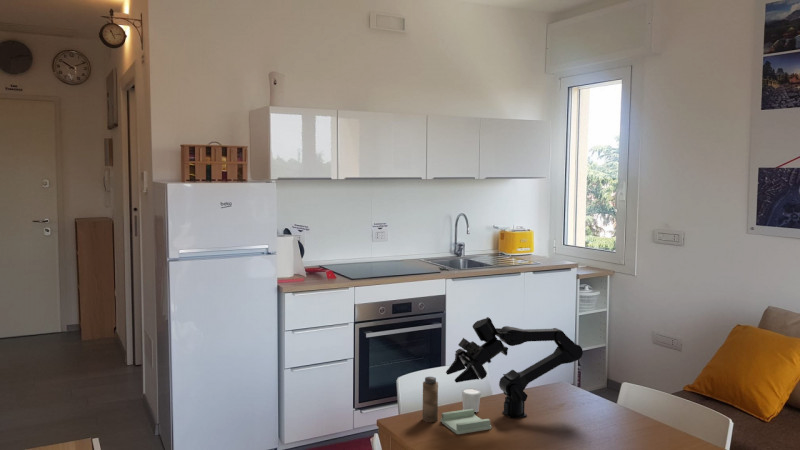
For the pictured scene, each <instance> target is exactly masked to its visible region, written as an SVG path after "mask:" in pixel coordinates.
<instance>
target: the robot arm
mask: <svg viewBox="0 0 800 450" xmlns="http://www.w3.org/2000/svg"><path fill="white" fill-rule="evenodd" d="M472 328H473V330H474V332H475V334H476V335H477V337H478V339H479V340H480V342H484V343H482V344H481V345H479V344H477V343H476V342H475V341H473V340H472V341H469V340H467V339H466V338H464V337H462V339H461V341H460V342H459V343H458V347H460V348H458V349H457V350H455V351H454V352H455V353H454V357H455V358H454V360H453V362H452V363H451V365H449V367H448V368H447V370H446V371H445V374H446V375H451V374H455V373H458V372H460V371H462V372H461V373H460V374H459V375H458V376H456V377H455V378H454V383H457V384H458V383H461V382H463V383H464V382H468V381H475V380H484V379H485V378H486V377H487V374H488V373H487V371H486V368H484V365H485V364H486V363H488V364H490V363H492V359H493V358H495V357H496V356H498V355H499V354H500V353H501V354H502V355H504V356H505V357H506V356H508V350H509V347H514V346H519V345H522V344H524V343H528V342H550V341H551V342H552V341H553V342H554V343H555V344H556V348H555V350H554V351H553V353H550V354H549V355H547V356H545V357H544V358H542V359H540V360H538V361H537V362H535V363H534V364H532V365H530V366H528V367H526V368H525V369H523V370H522V371H518V372H517V371H516V370H514V369H511V370H509V371H508V372H506V373H504V374H503V376H502V377H500V379H499V381H498V386H499V389H500V390H501V391H502V392H503V395H505V397H504V401H503V410H502V411H501V413H502V414H503V415H505V416H506V417H508V418H510V419H517V418H518V419H519V418H525V417H528V414H527V413H525V402H526V401H527V399H528V394H527V393H526V392H525V390H526V387H528V385H529V384H531V382H533V381H535V380H537V379H538V378H540V377H542V376H543V375H545V374H547V373H549V372H551V371H552V370H554V369H556V368H557V367H559V366H561V365H564V364H566V365H567V364H571V363H573V362H577V361H579V360H580V359H582V357H583V352H584V350H583V347H582V346H581V345H580V344H577V343H575V341H573V340H572V339H571V338H569V337H568V335H567V334H566V333H565V332H564V331H563V330H561V329H560V328H557V327H554V328H536V329H534V328H532V329H531V328H529V329H528V328H527V329H523V328H520V327H514V326H509V325H508V326H507V325H505V326H503V327H501V328H497V327H496V326H495V325H494V324H493V321H492V319H491V317H488V316H487V317H485V318H482V319H480V320H477V321H476V322H474V323H473V325H472ZM497 337H498V338H499V339H498V338H497ZM505 344H506V345H508V346H509V347H507V346H505Z"/></svg>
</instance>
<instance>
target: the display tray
mask: <svg viewBox="0 0 800 450" xmlns="http://www.w3.org/2000/svg"><path fill="white" fill-rule="evenodd" d="M440 421H441V422H442V423H441V422H440ZM440 421H439V422H440V423H441V424H443V425H444V426H445V427H447V428H448V429H449V430H451V432H453V433H454V434H456V435H463V434H469V433H475V432H480V431H487V430H492V427H493V426H492V425H491V419H489V418H484V419H482V418H480V416H479V417H478V416H477V415H476V414H475V413H474V409H465V410H463V409H460V410H454V411H447V412H446V411H445V412H441V418H440Z"/></svg>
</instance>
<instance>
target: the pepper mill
mask: <svg viewBox="0 0 800 450" xmlns="http://www.w3.org/2000/svg"><path fill="white" fill-rule="evenodd" d="M438 401H439V382H438V381H437V378H436V377H434V376H426V377H425V378H424V381H423V382H422V421H423V422H424V421H425V423H428V422H433V423H436V422H438V411H439V410H438V408H439V407H438V406H439V403H438ZM435 421H436V422H435Z"/></svg>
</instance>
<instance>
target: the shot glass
mask: <svg viewBox="0 0 800 450" xmlns="http://www.w3.org/2000/svg"><path fill="white" fill-rule="evenodd" d="M481 393H482V392H481V390H479V389H476V388H464V389H461V399H462V401H461V402H462V410H465V409H474V412H476V413H478V412H479V411H480V401H481Z"/></svg>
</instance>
